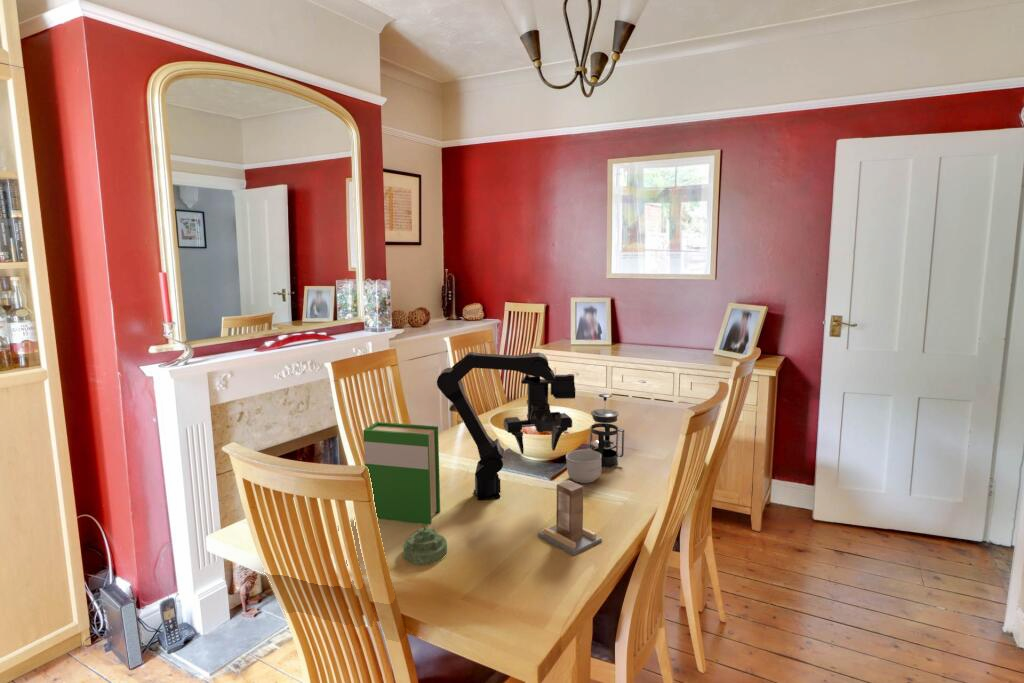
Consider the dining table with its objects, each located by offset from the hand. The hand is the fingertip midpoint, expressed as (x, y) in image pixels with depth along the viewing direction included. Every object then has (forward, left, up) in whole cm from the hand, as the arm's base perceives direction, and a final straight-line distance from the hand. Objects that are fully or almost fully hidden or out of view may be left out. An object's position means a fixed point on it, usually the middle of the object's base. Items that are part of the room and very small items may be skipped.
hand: (537, 451), depth 166 cm
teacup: (+18, +8, -13) cm, 24 cm away
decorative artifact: (-35, -23, -13) cm, 44 cm away
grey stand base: (0, -26, -13) cm, 29 cm away
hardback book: (-38, -2, -13) cm, 40 cm away
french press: (+29, +18, -13) cm, 37 cm away
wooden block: (0, -26, -12) cm, 29 cm away
